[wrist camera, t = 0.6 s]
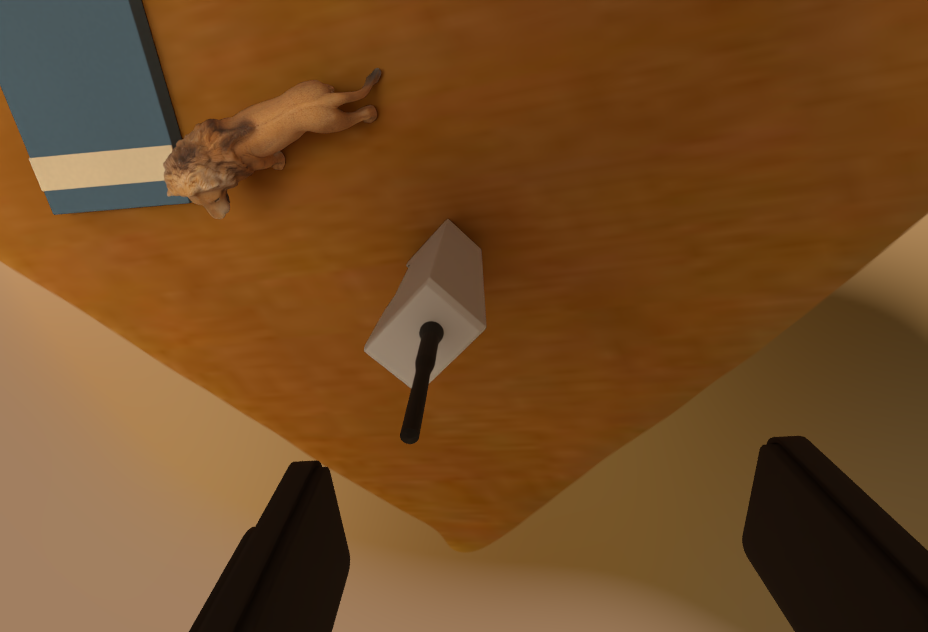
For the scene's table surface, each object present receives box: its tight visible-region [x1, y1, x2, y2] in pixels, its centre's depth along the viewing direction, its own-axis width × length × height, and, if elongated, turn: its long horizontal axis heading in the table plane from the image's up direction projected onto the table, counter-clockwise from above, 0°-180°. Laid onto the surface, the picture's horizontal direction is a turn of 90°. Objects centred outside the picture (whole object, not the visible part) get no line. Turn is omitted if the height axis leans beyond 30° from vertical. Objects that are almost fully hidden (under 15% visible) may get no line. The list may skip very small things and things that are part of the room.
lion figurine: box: [163, 68, 381, 219], centre depth 30 cm, size 15×5×9 cm, turn 123°
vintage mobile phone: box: [364, 219, 486, 444], centre depth 26 cm, size 4×5×25 cm
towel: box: [0, 0, 192, 215], centre depth 32 cm, size 20×11×2 cm, turn 5°
